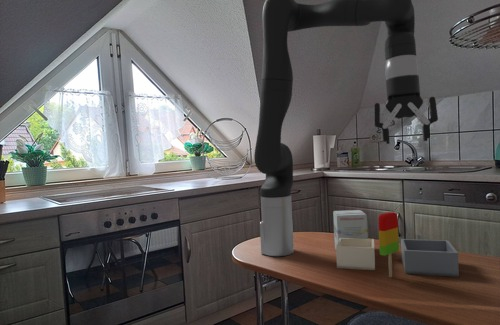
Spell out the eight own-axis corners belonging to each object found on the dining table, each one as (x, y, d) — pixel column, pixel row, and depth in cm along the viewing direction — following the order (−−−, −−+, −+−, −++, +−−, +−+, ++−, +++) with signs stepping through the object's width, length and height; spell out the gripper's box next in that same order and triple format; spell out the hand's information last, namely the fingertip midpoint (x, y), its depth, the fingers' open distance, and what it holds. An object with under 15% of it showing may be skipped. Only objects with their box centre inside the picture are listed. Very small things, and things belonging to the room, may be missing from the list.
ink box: (362, 247, 108) (361, 208, 108) (369, 255, 100) (367, 213, 99) (334, 247, 109) (332, 209, 109) (338, 256, 101) (336, 214, 100)
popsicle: (387, 281, 80) (384, 215, 80) (379, 278, 82) (377, 214, 81) (400, 275, 83) (398, 211, 83) (393, 273, 85) (391, 211, 85)
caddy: (405, 273, 84) (404, 250, 84) (401, 259, 95) (400, 239, 95) (458, 276, 81) (458, 252, 80) (448, 261, 91) (448, 240, 91)
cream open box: (336, 268, 91) (336, 246, 90) (340, 257, 99) (339, 237, 99) (375, 270, 88) (374, 248, 87) (374, 259, 96) (374, 239, 96)
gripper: (371, 78, 87) (376, 144, 87) (436, 69, 82) (441, 139, 82) (371, 83, 94) (376, 145, 94) (431, 75, 89) (436, 140, 89)
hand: (406, 142), depth 88 cm, fingers open, 8 cm apart
